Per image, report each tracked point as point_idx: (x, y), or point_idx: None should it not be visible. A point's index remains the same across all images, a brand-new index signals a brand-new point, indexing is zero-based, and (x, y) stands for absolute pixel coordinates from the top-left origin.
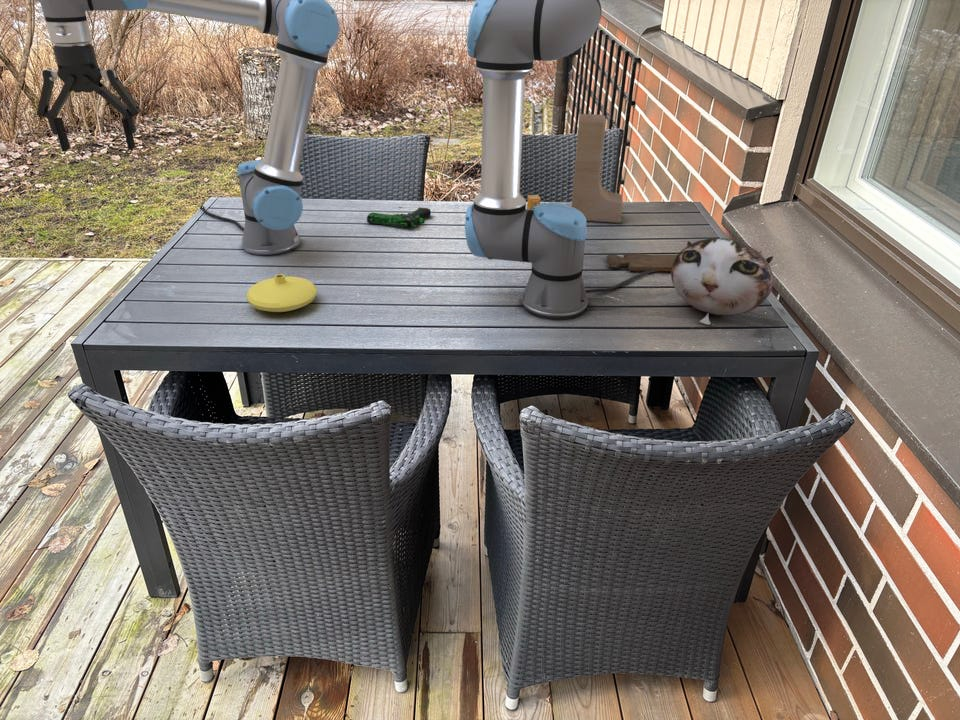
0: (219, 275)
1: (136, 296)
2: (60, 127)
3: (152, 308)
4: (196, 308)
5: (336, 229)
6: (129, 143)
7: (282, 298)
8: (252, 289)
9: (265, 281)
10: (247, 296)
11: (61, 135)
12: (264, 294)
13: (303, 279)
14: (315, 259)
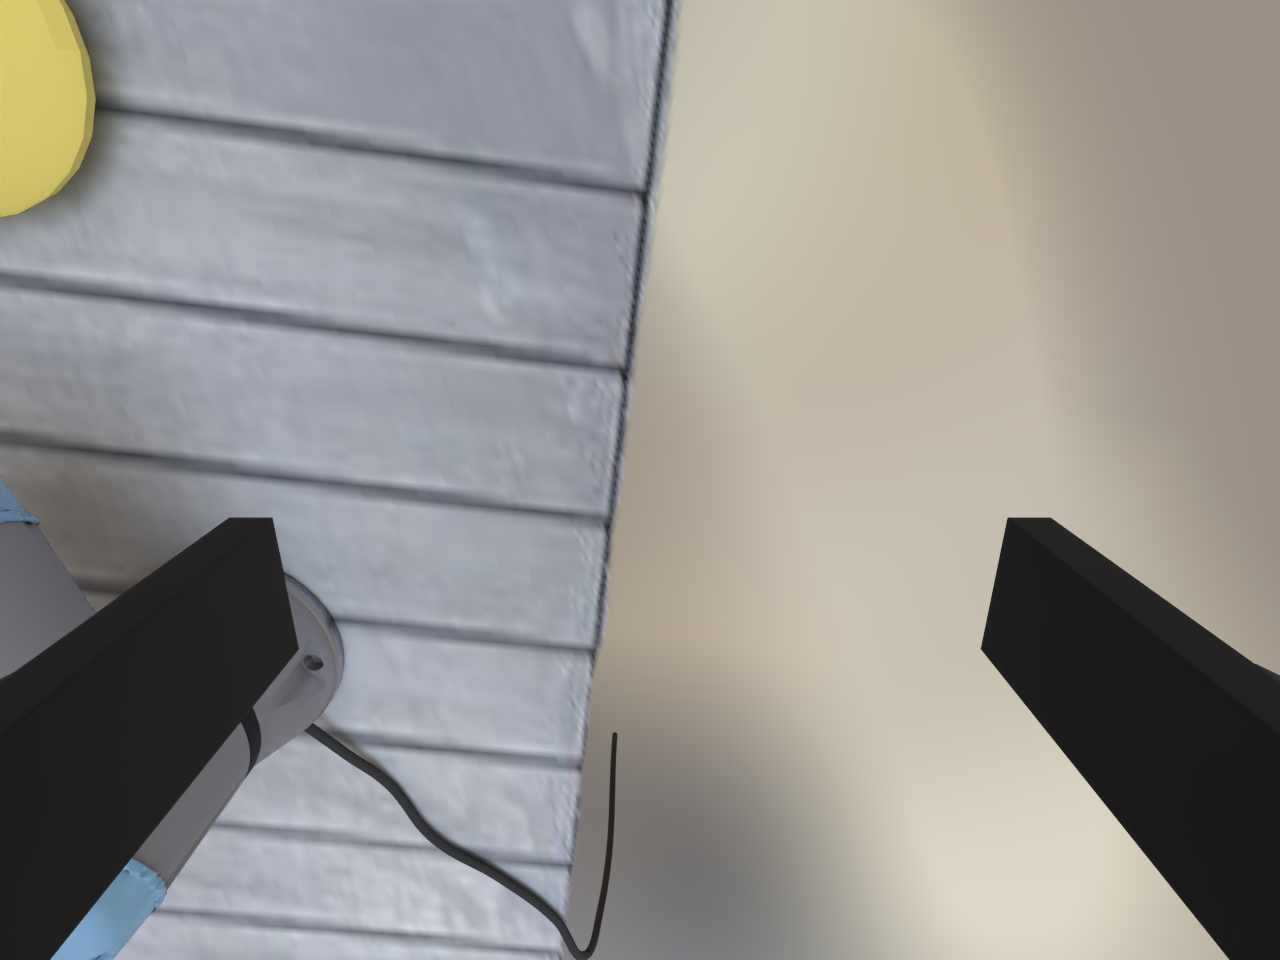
0: (347, 396)
1: (606, 228)
2: (1217, 743)
3: (511, 97)
4: (334, 76)
5: None
6: (192, 551)
7: None
8: (38, 56)
9: (4, 130)
10: (55, 9)
11: (1138, 623)
12: None
13: None
14: (29, 508)
